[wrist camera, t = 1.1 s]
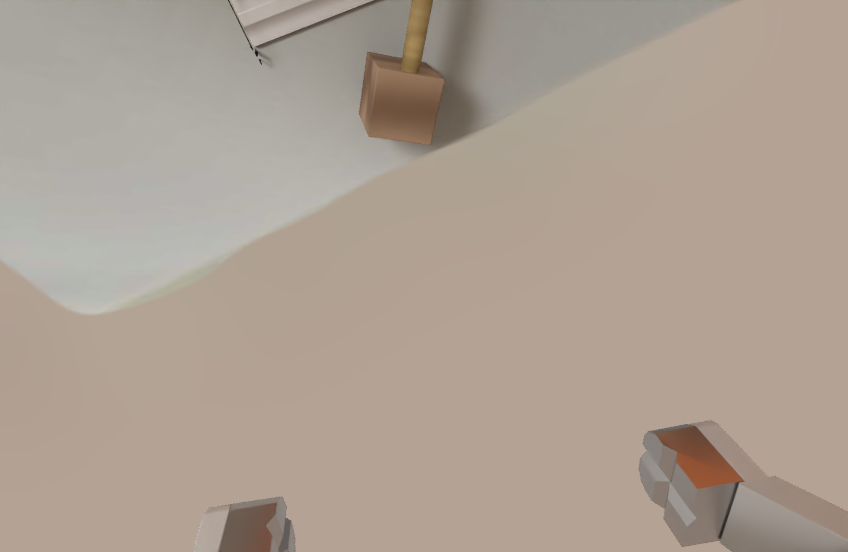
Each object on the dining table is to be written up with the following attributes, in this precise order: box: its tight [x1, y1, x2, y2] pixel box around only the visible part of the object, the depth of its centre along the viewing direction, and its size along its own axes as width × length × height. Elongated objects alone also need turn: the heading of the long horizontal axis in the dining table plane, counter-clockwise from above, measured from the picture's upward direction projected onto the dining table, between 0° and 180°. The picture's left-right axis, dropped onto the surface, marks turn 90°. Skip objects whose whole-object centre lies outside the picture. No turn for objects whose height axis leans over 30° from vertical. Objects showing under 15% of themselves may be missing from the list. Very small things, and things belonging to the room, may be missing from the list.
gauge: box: [359, 0, 445, 145], centre depth 37 cm, size 12×5×6 cm, turn 168°
